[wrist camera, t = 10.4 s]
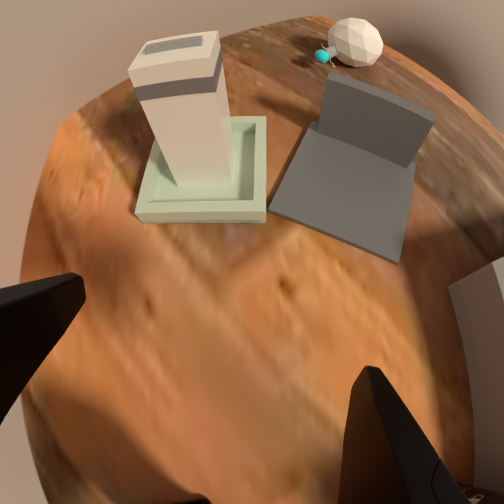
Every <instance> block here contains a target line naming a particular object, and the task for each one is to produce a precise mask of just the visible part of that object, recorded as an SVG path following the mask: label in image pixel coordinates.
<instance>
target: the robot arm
mask: <svg viewBox="0 0 504 504" xmlns="http://www.w3.org/2000/svg"><path fill="white" fill-rule="evenodd" d="M85 300H86V293H85V287H84V281H83V278H82V276H80V275H78V274H76V273H73V272H71V273H66V274H62V275H57V276H53V277H48V278H44V279H40V280H35V281H31V282H27V283H22V284H18V285H14V286H9V287H6V288H1V289H0V425H1V423H2V421H3V419H4V418H5V416H6V415H7V413H8V411H9V410H10V408H11V406H12V405H13V404H14V402H15V401H16V399H17V398H18V396H19V395H20V393H21V392H22V390H23V389H24V387H25V386H26V384H27V383H28V381H29V380H30V379H31V377H32V376H33V374H34V373H35V372H36V370H37V369H38V367H39V366H40V365H41V363H42V362H43V361H44V359H45V358H46V357H47V355H48V354H49V353H50V351H51V350H52V349H53V348H54V346H55V345H56V344H57V342H58V341H59V340H60V338H61V337H62V336H63V334H64V333H65V331H66V330H67V328H68V327H69V325H70V324H71V322H72V321H73V319H74V318H75V316H76V315H77V313H78V312H79V310H80V309H81V307H82V306H83V304H84V303H85ZM202 503H206V504H212V503H211V502H210V501H209V500H207V499H200V500H194V501H189V502H183V503H176V504H202ZM337 504H472V503H471V502H470V500H469V499H468V498H467V497H466V495H465V494H464V493H463V491H462V490H461V489H460V487H459V486H458V484H457V483H456V482H455V480H454V479H453V477H452V476H451V474H450V473H449V471H448V470H447V468H446V467H445V465H444V463H443V462H442V460H441V459H439V456H438V454H437V452H436V451H435V449H434V448H433V446H432V445H431V443H430V442H429V440H428V439H427V437H426V435H425V434H424V432H423V431H422V429H421V428H420V426H419V425H418V423H417V422H416V420H415V419H414V417H413V416H412V414H411V413H410V411H409V410H408V408H407V407H406V405H405V404H404V403H403V401H402V400H401V398H400V397H399V395H398V394H397V392H396V391H395V389H394V388H393V386H392V385H391V384H390V382H389V381H388V379H387V378H386V376H385V375H384V374H383V372H382V371H381V369H380V368H378V367H373V366H365V367H364V368H363V370H362V371H361V373H360V374H359V376H358V378H357V379H356V381H355V382H354V384H353V386H352V390H351V396H350V402H349V409H348V415H347V421H346V427H345V433H344V441H343V454H342V466H341V476H340V485H339V494H338V501H337Z"/></svg>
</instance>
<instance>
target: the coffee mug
mask: <svg viewBox="0 0 504 504" xmlns="http://www.w3.org/2000/svg"><path fill="white" fill-rule="evenodd" d="M456 483H457V482H456ZM457 484H458V486H459V487H460V489H461V490H462V491H463V493H464V494H465V495H466V497H467V498H468V499H469V500H470V502H471V503H472V504H504V493H501V492H495V491H490V490H486V489H481V488H477V487H473V486H469V485H465V484H461V483H457Z"/></svg>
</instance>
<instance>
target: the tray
mask: <svg viewBox="0 0 504 504" xmlns="http://www.w3.org/2000/svg"><path fill="white" fill-rule="evenodd" d="M230 120H231V128H232V135H233V142H234V149H235V155H234V167H233V179H232V185H203V186H177V184H176V181H175V179H174V177H173V175H172V173H171V171H170V168H169V166H168V164H167V162H166V160H165V157H164V155H163V153H162V151H161V149H160V146H159V144H158V142H157V140H156V137H155V139H154V142H153V145H152V149H151V152H150V155H149V159H148V162H147V166H146V169H145V173H144V177H143V180H142V184H141V188H140V192H139V196H138V200H137V204H136V209H135V213H134V214H135V215H136V216H137V217H138V219H139V220H140V221H141V222H142V223H143V224H165V223H266V116H236V117H230Z"/></svg>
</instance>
